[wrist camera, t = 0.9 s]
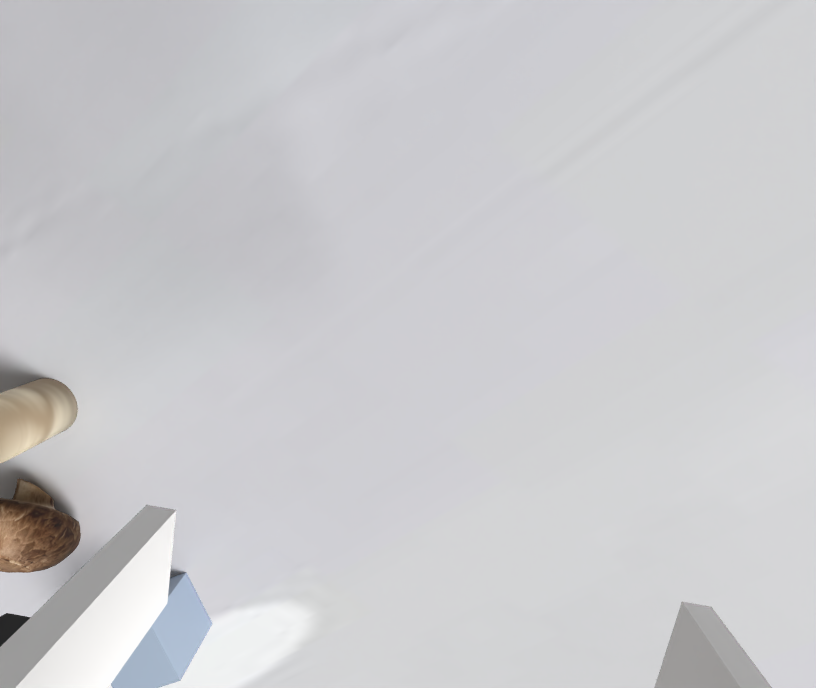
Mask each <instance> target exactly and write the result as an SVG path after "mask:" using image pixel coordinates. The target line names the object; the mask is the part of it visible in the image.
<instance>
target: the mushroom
mask: <svg viewBox="0 0 816 688" xmlns="http://www.w3.org/2000/svg"><path fill="white" fill-rule="evenodd" d="M80 536H81V533H80V526H79V522H78V521H76V520H75V519H74V518H72V517H71V516H69V515H67V514H65V513H63V512H60V511H58V510H56V509H55V508H54V500H53V499H52V498H51V497H50V496H49V495H48V494H47V493H45V492H44V491H43V490H41V489H40V488H39V487H37V486H36V485H34V484H32V483H30V482H28V481H26V480H24V479H20V478H19V479H17V486H16V491H15V494H14V497H13V499H12V500H10V499H3V498H0V571H2V572H34V571H40V570H45V569H48V568H50V567H53V566H55V565H57V564H58V563H60V562H61V561H63V560H64V559H65V558H66V557H68V556H69V555H70V554H71V553H72V552H73V551H74V550H75V549H76V547H77V546H78V544H79V541H80Z"/></svg>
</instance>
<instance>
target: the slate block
mask: <svg viewBox="0 0 816 688" xmlns="http://www.w3.org/2000/svg"><path fill="white" fill-rule="evenodd" d="M211 625H212V622H211V620H210V618H209V616H208V614H207V612H206V610H205V608H204V606H203V604H202V602H201V600H200V598H199V596H198V594H197V592H196V590H195V588H194V586H193V584H192V582H191V580H190V579H189V577H188V575H187V573H183V574H180V575H177V576H175V577H172V578H170V581H169V591H168V602H167V605H166V606H165V607H164V609H163V610H162V612H161V613H160V615H159V616H158V617H157V619H156V620H155V622H154V623H153V625H152V626H151V627H150V629H149V630H148V632H147V633H146V635H145V636H144V637H143V639H142V640H141V642H140V643H139V644H138V646H137V647H136V649H135V650H134V652H133V653H132V654H131V656H130V657H129V659H128V660H127V662H126V663H125V664H124V666H123V667H122V669H121V670H120V672H119V673H118V674H117V676H116V677H115V679H114V680H113V681H112V683H111V685H112V687H113V688H159V687H162V686H165V685H168V684H171V683H174V682H177V681H180V680H181V678H182V677H183V675H184V673H185V671H186V669H187V668H188V666H189V664H190V662H191V661H192V659H193V657H194V655H195V654H196V652H197V650H198V648H199V647H200V645H201V643H202V641H203V639H204V638H205V636H206V634H207V632H208V631H209V629H210V627H211Z"/></svg>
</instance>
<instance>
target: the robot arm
mask: <svg viewBox="0 0 816 688" xmlns="http://www.w3.org/2000/svg"><path fill="white" fill-rule="evenodd" d="M175 518H176V510H173V509H167V508H162V507H156V506H151V505H146V506H145V507H144V508H143V509H142V510H141V511H140V512H139V513H138V514H137V515H136V516H135V517H134V518H133V519H132V520H131V521H130V522H129V523H128V524H126V525H125V526H124V527H123V528H122V529H121V530H120V531H119V532H118V533H117V534H116V535H115V536H114V537H113V538H112V539H111V540H110V541H109V542H108V543H107V544H106V545H105V546H104V547H103V548H102V549H101V550H100V551H99V552H98V553H97V554H96V555H95V556H94V557H92V558H91V559H90V560H89V561H88V562H87V563H86V564H85V565H84V566H83V567H82V568H81V569H80V570H79V571H78V572H77V573H76V574H75V575H74V576H73V577H72V578H71V579H70V580H69V581H68V582H67V583H66V584H65V585H64V586H63V587H62V588H61V589H60V590H58V591H57V592H56V593H55V594H54V595H53V596H52V597H51V598H50V599H49V600H48V601H47V602H46V603H45V604H44V605H43V606H42V607H41V608H40V609H39V610H38V611H37V612H36V613H35V614H34V615H33V616H32V617H25V616H20V615H14V614H9V613H6V614H4V615H3V616H1V617H0V688H108V687H109V686H110V684H111V683H112V681H113V680H114V679H115V677H116V676H117V674H118V673H119V672H120V670H121V669H122V667H123V666H124V664H125V663H126V662H127V660H128V659H129V657H130V656H131V654H132V653H133V652H134V650H135V649H136V647H137V646H138V644H139V643H140V642H141V640H142V639H143V637H144V636H145V635H146V633H147V632H148V630H149V629H150V627H151V626H152V625H153V623H154V622H155V620H156V619H157V617H158V616H159V615H160V613H161V612H162V610H163V609H164V607H165V606H166V605H167V602H168V591H169V581H170V570H171V560H172V549H173V539H174V529H175ZM655 688H772V687H771V686H770V684H769V683H768V682H767V680H766V679H765V678H764V676H763V675H762V674H761V672H760V671H759V670H758V668H757V667H756V666H755V664H754V663H753V662H752V660H751V659H750V658H749V656H748V655H747V654H746V652H745V651H744V650H743V648H742V647H741V646H740V644H739V643H738V642H737V640H736V639H735V638H734V636H733V635H732V634H731V632H730V631H729V630H728V628H727V627H726V626H725V624H724V623H723V622H722V620H721V619H720V618H719V616H718V615H717V614H716V612H715V611H714V610H713V608H712V607H709V606H703V605H698V604H692V603H687V602H682V603H681V606H680V609H679V612H678V616H677V619H676V622H675V625H674V628H673V631H672V634H671V637H670V641H669V644H668V647H667V650H666V653H665V656H664V659H663V663H662V666H661V669H660V672H659V675H658V678H657V681H656V684H655Z"/></svg>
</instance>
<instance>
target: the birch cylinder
mask: <svg viewBox="0 0 816 688" xmlns="http://www.w3.org/2000/svg"><path fill="white" fill-rule="evenodd" d="M77 410H78V408H77V402H76V399H75V397H74V395H73V393H72V392H71V391H70V389H69V388H68V387H67V386H65V385H64V384H63V383H61V382H59V381H57V380H54V379H49V378H42V379H38V380H35V381H32V382H29V383H27V384H24V385H21V386H18V387H15V388H13V389H10V390H7V391H4V392H2V393H0V463H3V462H6V461H7V460H9V459H11V458H13V457H15V456H17V455H19V454H21V453H23V452H25V451H26V450H28V449H30V448H32V447H34V446H36V445H38V444H40V443H42V442H44V441H46V440H47V439H49V438H51V437H53V436H55V435H57V434H59V433H61V432H63V431H65V430H66V429H68V428H69V427H70V426H71V425H72V424H73V423H74V421H75V419H76V417H77Z"/></svg>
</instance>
